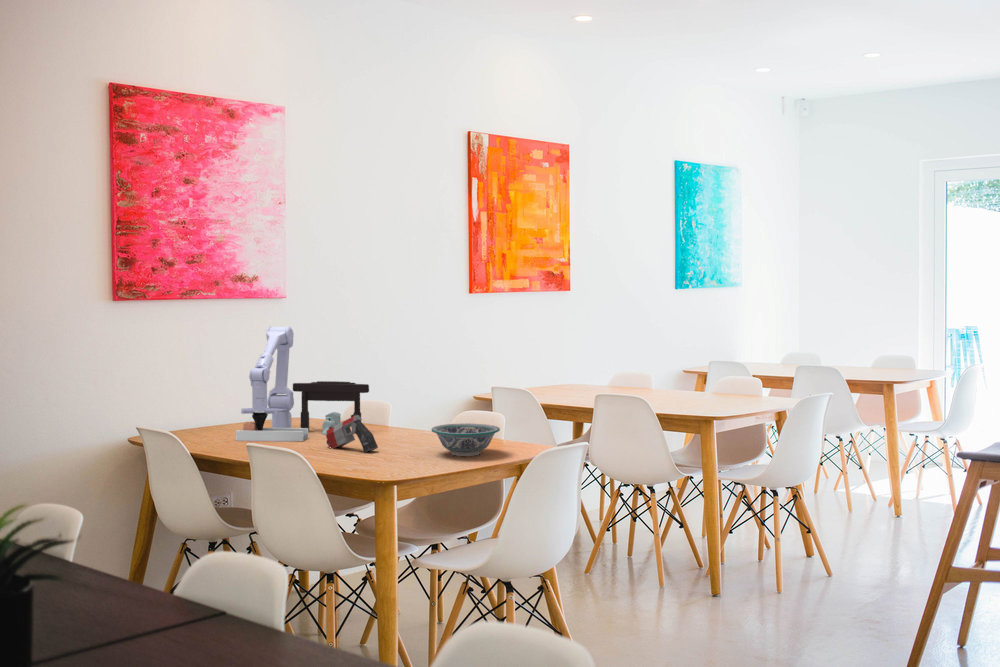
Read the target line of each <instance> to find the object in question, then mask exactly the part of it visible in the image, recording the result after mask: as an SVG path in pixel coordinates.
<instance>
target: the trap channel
mask: <svg viewBox="0 0 1000 667" xmlns="http://www.w3.org/2000/svg"><path fill="white" fill-rule="evenodd" d="M307 438H308V439H309V431H308V428H301V427H292V428H272V427H263V431H251V430H243V427H241V430H239V429H238V430H235V441H237V442H295V441H296V442H297V441H303V442H305V441H307V440H308V439H307Z"/></svg>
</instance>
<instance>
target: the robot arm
mask: <svg viewBox="0 0 1000 667" xmlns="http://www.w3.org/2000/svg"><path fill="white" fill-rule="evenodd" d="M265 335H266V345H265V347H264V348H265V349H264V351H263V353H261V354H260V355H259V357H258V359H257V362H256V363H255V366H254V367H253V368H252V369H250V371H249V376H248V377H249V381H250V386H251V388H252V389H251V390H252V392H251V394H252V396H251V397H252V398H251V401H252V403H251V404H252V407H249V408H246V407H244V408H241V410H240V412H241V415H244V414H252V415H251V417H252V419H253V422H255V423H256V426H257V430H258V431H263V428H264V425H265V422H266V419H267V417H268V415H269V414H270V415H271V422H272V423H271V428H293V427H292V413H291V411H292V409H293V408H294V404H295V398H294V391H293V390H291V389H290V388H289V387H288V378H289V377H288V376H289V363H290V362H289V359H290V349H291V348H292V347H293V346H294V337H295V336H294V331H293V328H292V327H291V326H269V327H268V328H267V329H266V334H265ZM276 350H277V352H276ZM275 352H276V367H275V368H276V369H275V383H274V387H273V388H272V389H270V390H269V393H268V382H269V380H270V374H271V367H272V365H273V363H274V357H273V356H274V354H275Z"/></svg>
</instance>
